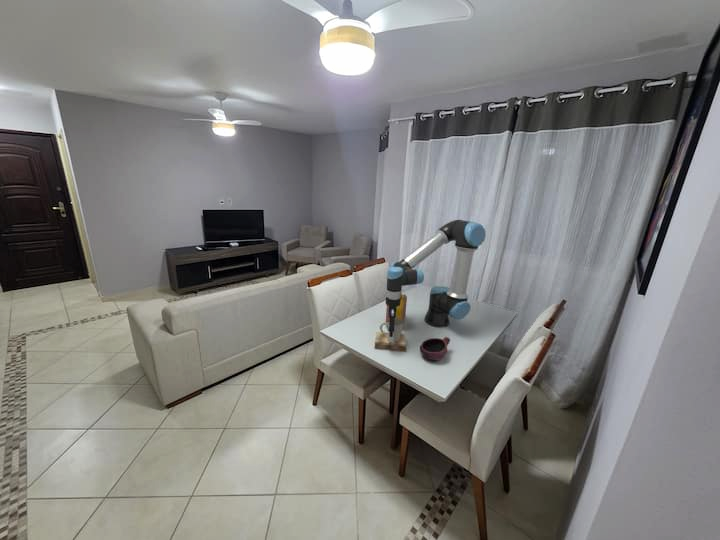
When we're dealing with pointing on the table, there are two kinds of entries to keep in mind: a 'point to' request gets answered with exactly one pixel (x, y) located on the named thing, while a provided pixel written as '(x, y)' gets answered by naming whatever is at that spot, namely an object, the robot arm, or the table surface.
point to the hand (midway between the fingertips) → (390, 335)
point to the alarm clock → (399, 309)
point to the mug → (395, 328)
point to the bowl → (434, 348)
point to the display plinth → (389, 343)
